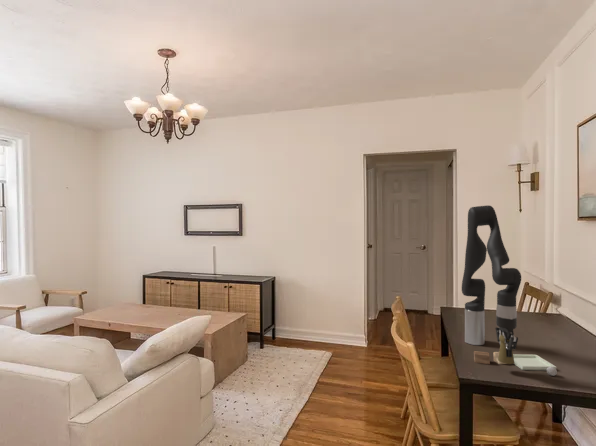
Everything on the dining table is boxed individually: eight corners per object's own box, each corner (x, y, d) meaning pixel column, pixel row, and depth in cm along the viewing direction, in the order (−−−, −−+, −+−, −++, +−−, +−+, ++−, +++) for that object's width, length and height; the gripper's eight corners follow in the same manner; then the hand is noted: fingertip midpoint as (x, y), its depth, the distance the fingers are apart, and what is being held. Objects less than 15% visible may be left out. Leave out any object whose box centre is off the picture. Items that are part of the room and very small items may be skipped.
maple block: (493, 360, 168) (493, 352, 168) (501, 360, 169) (501, 351, 169) (499, 364, 164) (499, 355, 164) (507, 363, 165) (507, 354, 165)
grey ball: (544, 373, 154) (544, 365, 154) (553, 373, 154) (553, 365, 154) (550, 377, 151) (550, 368, 151) (558, 377, 150) (559, 368, 150)
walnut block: (473, 359, 170) (473, 351, 170) (488, 361, 168) (488, 352, 168) (474, 362, 166) (474, 354, 166) (489, 364, 164) (489, 355, 164)
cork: (508, 357, 159) (508, 332, 159) (517, 363, 153) (517, 337, 153) (494, 358, 159) (495, 332, 159) (503, 364, 153) (503, 337, 153)
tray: (505, 357, 172) (505, 354, 172) (536, 358, 171) (536, 354, 171) (522, 370, 158) (522, 366, 158) (556, 370, 157) (556, 366, 157)
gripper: (489, 310, 163) (488, 349, 163) (506, 320, 149) (506, 362, 149) (506, 310, 163) (506, 349, 163) (525, 320, 148) (525, 362, 149)
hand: (506, 355), depth 156 cm, fingers closed on cork, 3 cm apart
